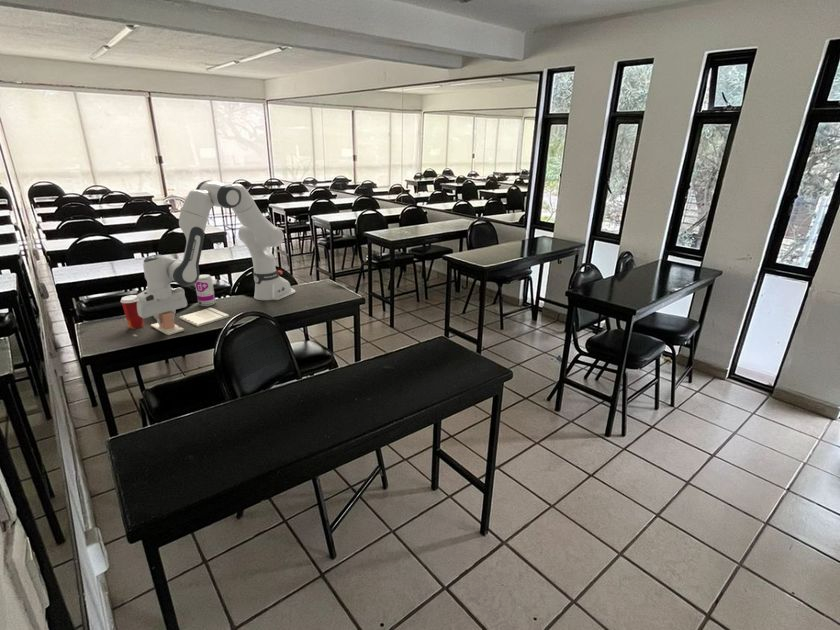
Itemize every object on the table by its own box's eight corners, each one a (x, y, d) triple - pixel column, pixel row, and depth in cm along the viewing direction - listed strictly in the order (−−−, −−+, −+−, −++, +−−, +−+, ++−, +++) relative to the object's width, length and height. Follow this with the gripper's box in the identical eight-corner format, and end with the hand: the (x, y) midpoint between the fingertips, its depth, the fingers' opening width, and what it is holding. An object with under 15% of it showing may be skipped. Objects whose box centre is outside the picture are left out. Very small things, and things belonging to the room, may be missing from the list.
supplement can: (211, 306, 235) (207, 278, 230) (195, 306, 235) (190, 278, 230) (218, 301, 243) (214, 274, 237) (203, 301, 243) (198, 273, 237)
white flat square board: (211, 309, 232) (210, 307, 231) (229, 316, 223) (229, 314, 222) (179, 318, 220) (179, 316, 219) (197, 326, 211) (197, 324, 210)
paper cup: (149, 323, 214) (143, 295, 208) (138, 330, 206) (132, 300, 201) (134, 322, 214) (127, 294, 209) (122, 329, 207) (115, 299, 202)
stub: (166, 321, 215) (163, 306, 212) (184, 330, 206) (181, 314, 203) (151, 326, 210) (147, 310, 207) (168, 335, 201) (165, 318, 198)
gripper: (179, 285, 211) (185, 313, 216) (132, 296, 196) (139, 326, 201) (187, 287, 208) (192, 316, 213) (139, 299, 192) (146, 330, 197)
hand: (166, 321), depth 207 cm, fingers closed on stub, 4 cm apart
